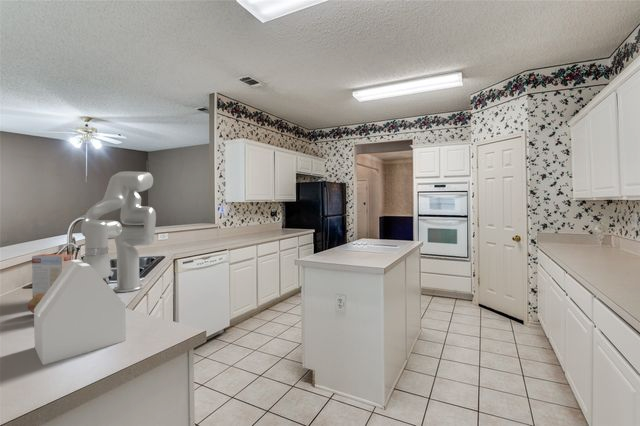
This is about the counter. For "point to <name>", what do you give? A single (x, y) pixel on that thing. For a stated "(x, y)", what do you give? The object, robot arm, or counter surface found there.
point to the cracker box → (47, 271)
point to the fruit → (35, 302)
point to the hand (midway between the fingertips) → (97, 295)
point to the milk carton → (77, 315)
